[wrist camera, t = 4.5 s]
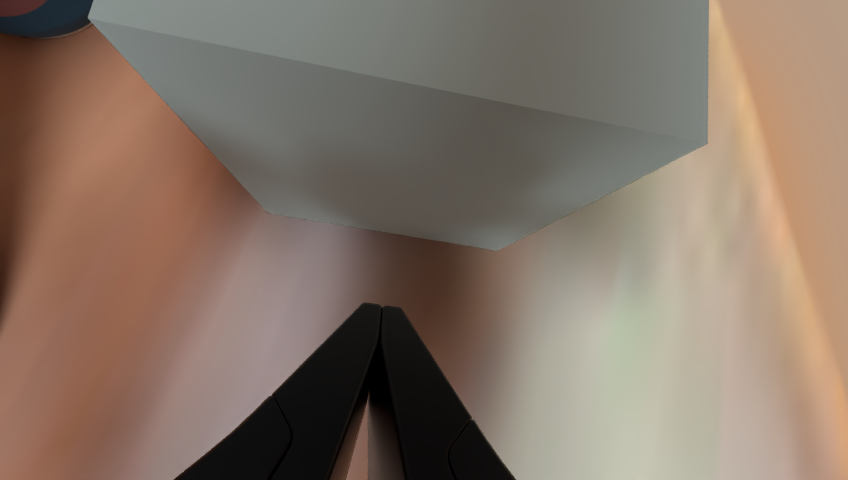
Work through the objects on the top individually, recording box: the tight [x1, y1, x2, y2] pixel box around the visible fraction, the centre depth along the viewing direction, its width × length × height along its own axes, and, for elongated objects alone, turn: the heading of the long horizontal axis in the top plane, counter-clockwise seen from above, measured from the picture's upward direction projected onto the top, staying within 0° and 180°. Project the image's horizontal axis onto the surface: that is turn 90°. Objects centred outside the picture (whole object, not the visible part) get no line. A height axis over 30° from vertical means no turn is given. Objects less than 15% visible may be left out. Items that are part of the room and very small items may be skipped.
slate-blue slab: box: [88, 0, 709, 251], centre depth 13 cm, size 4×10×12 cm, turn 82°
